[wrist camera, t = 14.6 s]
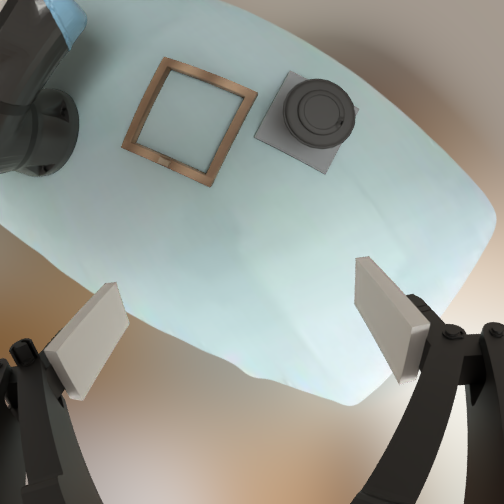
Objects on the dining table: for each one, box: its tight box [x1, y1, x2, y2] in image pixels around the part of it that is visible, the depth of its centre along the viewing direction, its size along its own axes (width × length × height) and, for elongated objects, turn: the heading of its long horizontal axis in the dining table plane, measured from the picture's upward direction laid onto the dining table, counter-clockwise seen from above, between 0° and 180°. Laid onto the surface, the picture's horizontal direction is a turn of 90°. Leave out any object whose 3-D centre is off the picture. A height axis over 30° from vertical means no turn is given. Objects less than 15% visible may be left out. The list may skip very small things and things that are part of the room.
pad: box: [254, 71, 359, 174], centre depth 38 cm, size 11×11×1 cm
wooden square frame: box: [121, 57, 258, 187], centre depth 37 cm, size 14×14×3 cm
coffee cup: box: [283, 79, 355, 149], centre depth 32 cm, size 8×8×10 cm
